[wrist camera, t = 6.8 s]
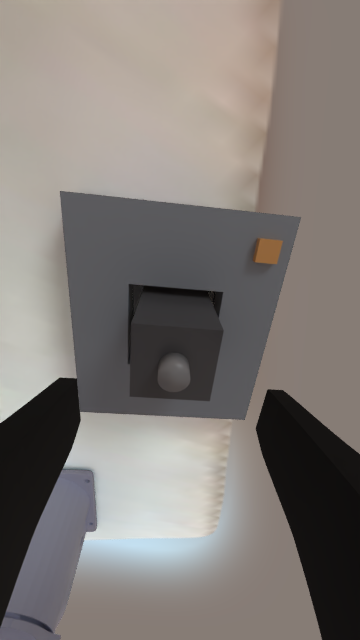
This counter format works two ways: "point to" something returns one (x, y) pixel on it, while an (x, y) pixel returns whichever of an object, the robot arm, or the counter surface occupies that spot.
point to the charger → (174, 344)
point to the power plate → (176, 272)
